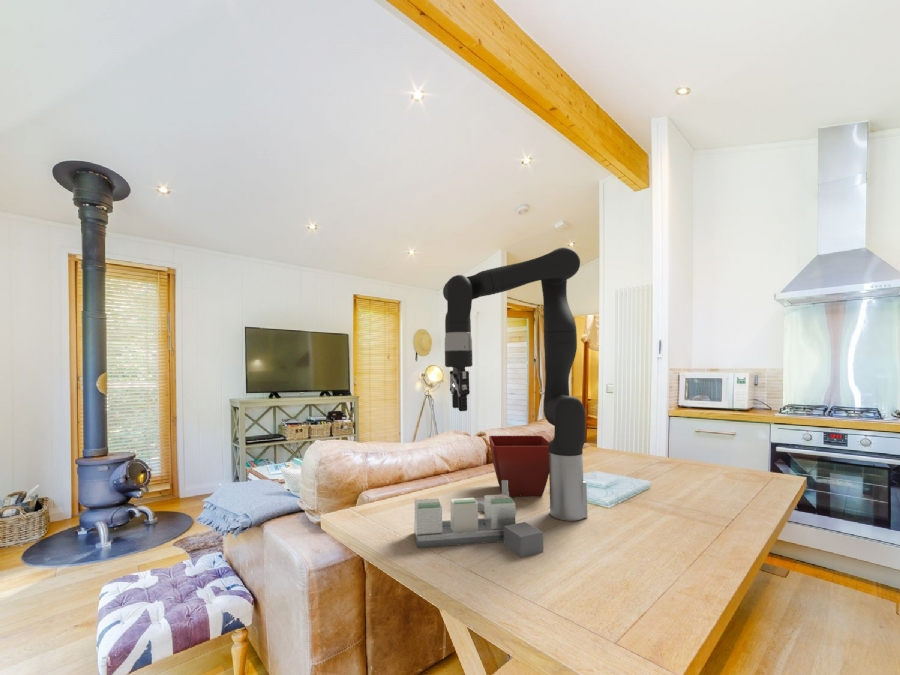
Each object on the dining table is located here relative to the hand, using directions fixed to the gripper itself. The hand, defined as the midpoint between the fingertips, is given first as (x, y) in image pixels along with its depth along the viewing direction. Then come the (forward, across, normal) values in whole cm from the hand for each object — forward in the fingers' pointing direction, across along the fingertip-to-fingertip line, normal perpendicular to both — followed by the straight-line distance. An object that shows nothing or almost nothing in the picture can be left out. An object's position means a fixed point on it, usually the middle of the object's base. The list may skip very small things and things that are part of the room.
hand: (459, 409), depth 114 cm
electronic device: (+31, +7, -11) cm, 34 cm away
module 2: (+30, -18, -11) cm, 37 cm away
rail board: (+30, -8, +1) cm, 31 cm away
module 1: (+29, -8, +1) cm, 30 cm away
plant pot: (+31, +24, -25) cm, 47 cm away
